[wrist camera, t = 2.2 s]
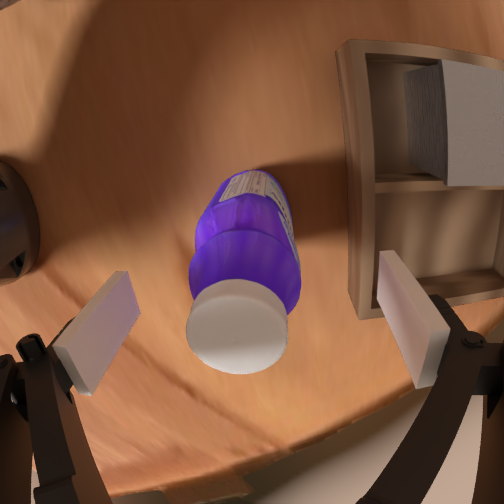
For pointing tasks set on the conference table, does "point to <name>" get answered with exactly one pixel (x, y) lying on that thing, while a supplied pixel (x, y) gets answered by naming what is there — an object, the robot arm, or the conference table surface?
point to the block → (456, 122)
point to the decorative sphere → (7, 3)
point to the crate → (410, 187)
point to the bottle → (243, 275)
